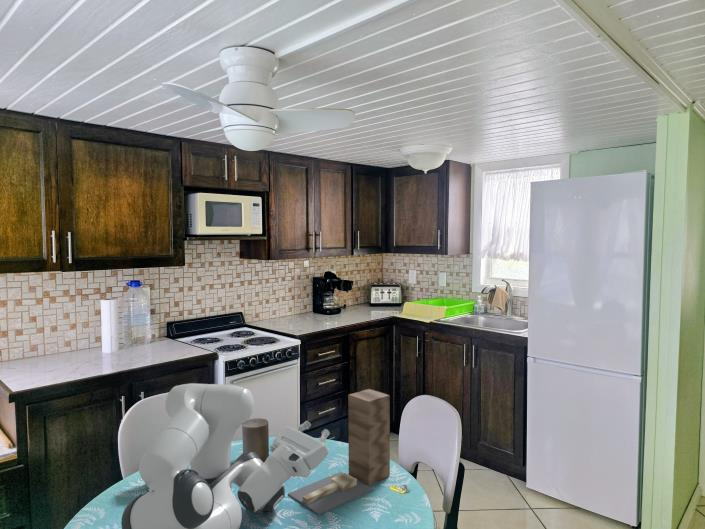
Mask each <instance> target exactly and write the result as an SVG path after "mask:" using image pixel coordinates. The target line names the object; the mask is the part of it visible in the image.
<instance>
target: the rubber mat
mask: <svg viewBox="0 0 705 529" xmlns="http://www.w3.org/2000/svg"><path fill="white" fill-rule="evenodd" d="M343 473H344V472H343V471H339V472H337V473H334V474H332V475H330V476H327V477H325V478H323V479H319V480H317V481H314V482H313V483H310V484H307V485H305V486H302V487H300V488H298V489H296V490H292V491H290V492H288V493H287V494H288V496H289V497H291V498H293V500H295V501H296V502H298V503H300V504H301V505H303V506H305V507H306V508H307V509H309V510H310V511H311V512H313V513H315V514H317V516H321V515H323V514H326V513H328V512H330V511H331V510H334V509H337V508H339V507H340V506H343V505H344V504H346V503H349V502H351V501H354V500H355V499H357V498H360V497H361V496H363V495H366V494H367V493H370V492H372V491H374V488H373V487H371V486H370V485H369V486H368V485H366V484H365V483H363V482H361V481H359V480H357V485H356V486H354V487H351V488H349V489H347V490H345V491H342V490H340V489H339V490H337V491H335V492H332V493H330V494H328V495H326V496H324V497H322V498H319V499H317V500H315V501H313V502H311V503H309V504H307V503H305V502H304V501H303V496H305V495H307V494H309V493H312V492H314V491H316V490H318V489H321V488H323V487H325V486H328V485H330V484H331V478H334V477H336V476H338V475H341V474H343Z"/></svg>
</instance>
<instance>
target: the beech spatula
mask: <svg viewBox="0 0 705 529" xmlns="http://www.w3.org/2000/svg"><path fill="white" fill-rule="evenodd" d="M342 473H343V474H341V475H338V476H336V477H334V478H331V484H330V485H328V486H325V487H323V488H321V489H318V490H316V491H314V492H312V493H309V494H307V495H305V496H303V501H304V502H305V503H307V504H309V503H311V502H313V501H315V500H317V499H319V498H322V497H324V496H326V495H328V494H330V493H332V492H335V491H337V490H339V489H340V490H342V491H345V490H347V489H349V488H351V487H354V486H356V485H357V479H356V478H354V477H352V476H350V475H349V473H346V472H342Z"/></svg>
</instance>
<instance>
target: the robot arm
mask: <svg viewBox="0 0 705 529" xmlns="http://www.w3.org/2000/svg"><path fill="white" fill-rule="evenodd" d="M164 406H165V408H164V409H165V411H166V414H167V416H168V417H169V420H168V422H167V423H166V424H165V425H164V426H163V428H161V430H160V431H159V432H158V433H157V435H156V436H155V437H154V439H152V441H151V443H150V444H149V446H148V447H147V448H146V450H145V452H144V454H143V456H142V457H141V459H140V461H139V466H138V471H139V472H138V474H139V475H140V478H141V480H142V481H143V482H144V484H145V483H146V484H148V485H149V487H148V488H149V489H148V490H149V491H148V492H146V493H142V494H140V495H138V496H137V497H135V498H134V499H132V500H131V502H129V503H128V504H127V505H126V507H125V508H124V509H123V512H122V516H121V520H120V521H121V523H120V524H121V529H240V527H241V524H242V519H243V517H242V515H243V514H242V507H243V508H245V509H246V510H247V511H248V512H250V513H256V512H257V511H258V510H260V511H262V512H271V511H272V512H273V510H274V509H275V508H276V506H277V505H278V504H279V503H280V502H281V501H282V500H283V499H284V498H285V497H286V496H285V495H286V489H285V485H284V483H286V482H288V481H289V480H290V479H291V478H292V477H295V478H297V477H299V478H300V477H301V478H309V477H310V475H311V473H312V472H311V471H312V470H315V469H316V468H317V467H318V466H319V465H321V463H323V461H324V460H325V459H326V457H328V455H329V448H328V446H327V445H326V442H327V438H328V437H329V436H330V434H331V432H330V430H329V429H327V428H324V429H323V430H322V431H321V432H320V433H321V436H319V437H318V438H315V437H313V436H311V435H308V434H307V433H304V431H305V430H309V429H310V427H312V424H311V422H310V421H309V420H305V421H304V422H303V423H301V424H300V425H298V426H295V427H292V426H289V425H287V426H285V427H284V428H282V429H281V431H280V432H279V433H278V434H277V435H276V436H275V438H274V439H273V442H272V443H271V444H269V446H270V447H269V452H271V453H269V456H268V457H267V459H266V461H265V462H262V460H261V459H260V458H259V457H258V455H257V454H256V453H255V452H244V453H243V452H242V453H241V454H239V455H238V456H237V457H236V458H235V459H234V460H233V462H231V452H232V443H233V442H232V441H233V438H234V435H235V434H236V432H237V430H238V429H239V428H240V427H241V426H242V424H243V423H245V422H246V421H247V420H249V419H251V418H250V417H251V416H252V415H253V413H254V412H253V411H254V410H255V409H254V408H255V398H254V396H253V394H252V392H251V391H250V389H248V388H246V387H242V386H239V385H234V384H223V383H221V384H220V383H211V384H210V383H209V384H208V383H196V382H195V383H193V382H192V383H184V384H180V385H175V386H173V387H172V388H171V390H169V392H168V393H167V395H166V398H165V402H164ZM189 467H190V468H189ZM146 484H145V485H146ZM233 484H234V485H236V486H237V487H238V490H237V493H236V494H237V497H236V495H235V494H234V492H233V491H232V485H233ZM241 505H242V507H241Z"/></svg>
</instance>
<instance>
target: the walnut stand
mask: <svg viewBox="0 0 705 529" xmlns="http://www.w3.org/2000/svg"><path fill="white" fill-rule="evenodd" d="M347 398H348V400H347V404H348V411H347V412H348V416H347V417H348V424H347V425H348V428H347V429H348V475H350V476H352V477H354V478H356V479H357V480H358V481H360V482H361V483H363V484H365V485H367V486H369V487H370V486H371V485H373V484H375V483H377V482H380V481H383V480H384V479H387V478H389V477H390V476H391V475H390V474H391V471H390V468H391V466H390V463H391V460H390V458H391V455H390V454H391V451H390V450H391V445H390V443H391V442H390V441H391V437H390V436H391V435H390V434H391V430H390V429H391V425H390V424H391V421H390V420H391V419H390V416H391V414H390V412H391V411H390V410H391V408H390V406H391V404H390V403H391V401H390V399H391V398H390V394H387V393H384V392H381V391H377V390H375V389H371V388H368V389H363V390H361V391H357V392H354V393H350V394H348V396H347ZM388 476H389V477H388ZM386 477H387V478H386Z"/></svg>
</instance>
